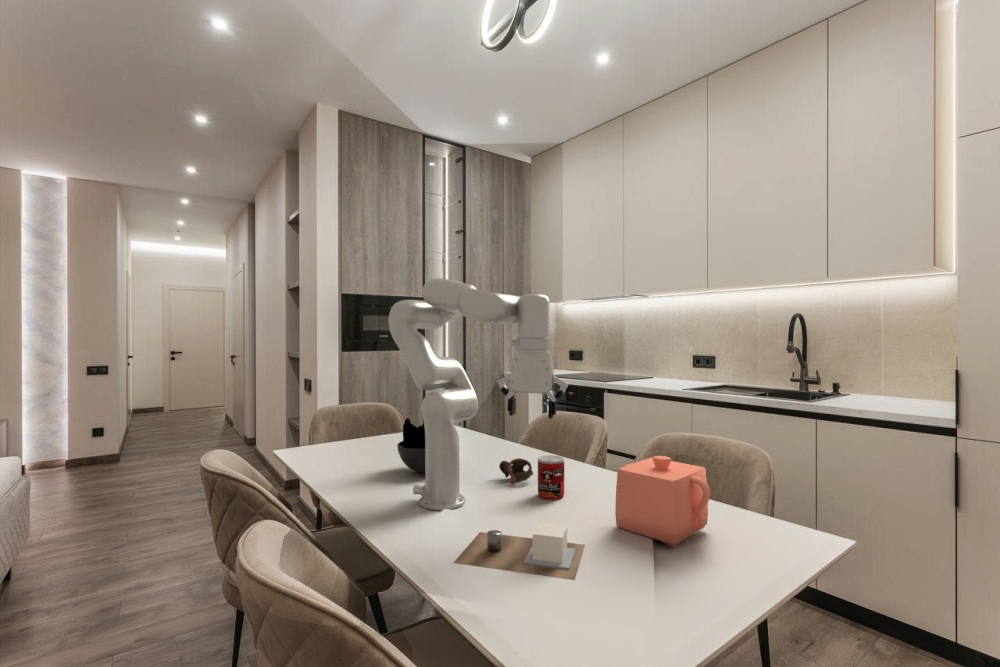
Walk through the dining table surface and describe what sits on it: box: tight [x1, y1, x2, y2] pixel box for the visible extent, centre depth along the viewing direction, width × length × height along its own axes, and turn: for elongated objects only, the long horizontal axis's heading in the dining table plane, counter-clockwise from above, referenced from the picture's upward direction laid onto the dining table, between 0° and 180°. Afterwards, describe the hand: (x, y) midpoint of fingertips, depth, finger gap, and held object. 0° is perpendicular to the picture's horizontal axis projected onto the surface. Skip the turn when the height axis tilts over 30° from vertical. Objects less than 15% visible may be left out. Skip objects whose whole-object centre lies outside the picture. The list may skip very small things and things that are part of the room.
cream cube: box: [532, 522, 568, 563], centre depth 99 cm, size 6×6×5 cm
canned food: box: [537, 454, 565, 501], centre depth 142 cm, size 8×8×11 cm
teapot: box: [614, 455, 712, 547], centre depth 118 cm, size 25×23×18 cm
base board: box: [453, 531, 586, 581], centre depth 100 cm, size 24×16×2 cm, turn 73°
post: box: [486, 529, 503, 553], centre depth 102 cm, size 3×3×4 cm
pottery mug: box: [498, 458, 535, 485], centre depth 157 cm, size 12×10×8 cm
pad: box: [524, 546, 576, 570], centre depth 99 cm, size 9×9×1 cm
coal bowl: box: [396, 417, 425, 474], centre depth 168 cm, size 20×20×19 cm
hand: (531, 416), depth 117 cm, fingers open, 9 cm apart
